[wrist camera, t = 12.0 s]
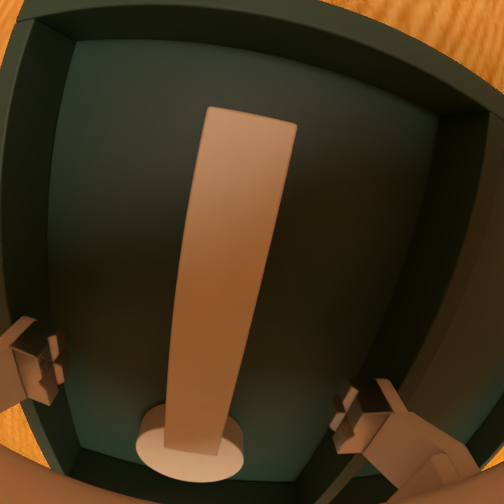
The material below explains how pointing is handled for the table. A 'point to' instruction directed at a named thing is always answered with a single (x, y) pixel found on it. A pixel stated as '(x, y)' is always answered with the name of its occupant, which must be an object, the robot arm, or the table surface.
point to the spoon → (217, 293)
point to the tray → (283, 240)
